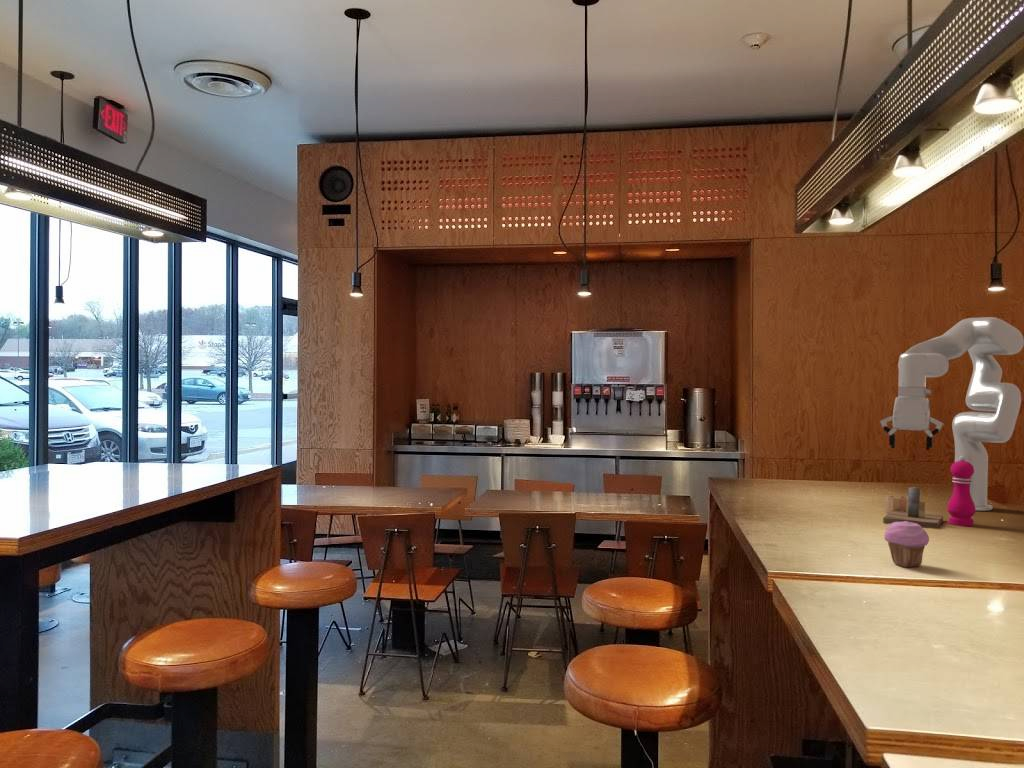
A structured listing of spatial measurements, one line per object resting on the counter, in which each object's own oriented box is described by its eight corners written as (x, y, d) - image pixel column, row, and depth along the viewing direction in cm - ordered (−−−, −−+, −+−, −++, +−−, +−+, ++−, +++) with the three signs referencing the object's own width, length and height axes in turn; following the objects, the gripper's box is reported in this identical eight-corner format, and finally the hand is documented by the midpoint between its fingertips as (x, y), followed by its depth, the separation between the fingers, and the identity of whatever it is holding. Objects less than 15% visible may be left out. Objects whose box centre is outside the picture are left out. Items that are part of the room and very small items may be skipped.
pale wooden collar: (912, 515, 250) (913, 499, 250) (886, 514, 252) (887, 498, 252) (909, 512, 257) (909, 496, 257) (884, 510, 259) (884, 495, 259)
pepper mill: (980, 526, 233) (982, 457, 233) (954, 526, 233) (956, 456, 233) (966, 522, 240) (968, 454, 240) (942, 521, 240) (943, 454, 240)
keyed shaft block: (891, 515, 250) (892, 483, 250) (942, 520, 243) (943, 487, 243) (883, 522, 237) (883, 488, 237) (937, 528, 229) (938, 493, 229)
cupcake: (903, 570, 177) (904, 525, 177) (875, 561, 186) (876, 518, 186) (936, 568, 180) (937, 523, 180) (907, 560, 188) (908, 517, 188)
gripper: (944, 393, 248) (942, 450, 248) (882, 392, 257) (881, 446, 257) (942, 394, 242) (941, 451, 242) (879, 392, 250) (878, 448, 251)
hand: (910, 449), depth 249 cm, fingers open, 9 cm apart
